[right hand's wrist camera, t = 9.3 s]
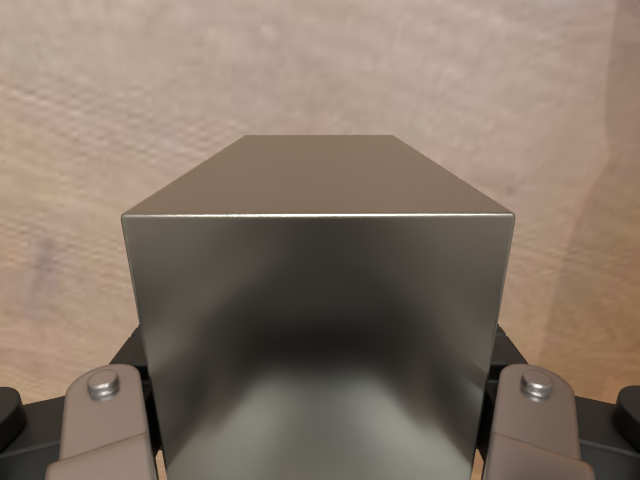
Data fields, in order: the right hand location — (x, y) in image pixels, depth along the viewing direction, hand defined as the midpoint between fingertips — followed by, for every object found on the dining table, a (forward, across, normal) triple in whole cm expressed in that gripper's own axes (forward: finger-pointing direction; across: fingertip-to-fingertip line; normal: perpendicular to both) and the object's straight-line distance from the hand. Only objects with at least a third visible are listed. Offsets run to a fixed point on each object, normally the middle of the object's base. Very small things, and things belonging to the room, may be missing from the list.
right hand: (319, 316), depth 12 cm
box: (+7, 0, -8) cm, 10 cm away
